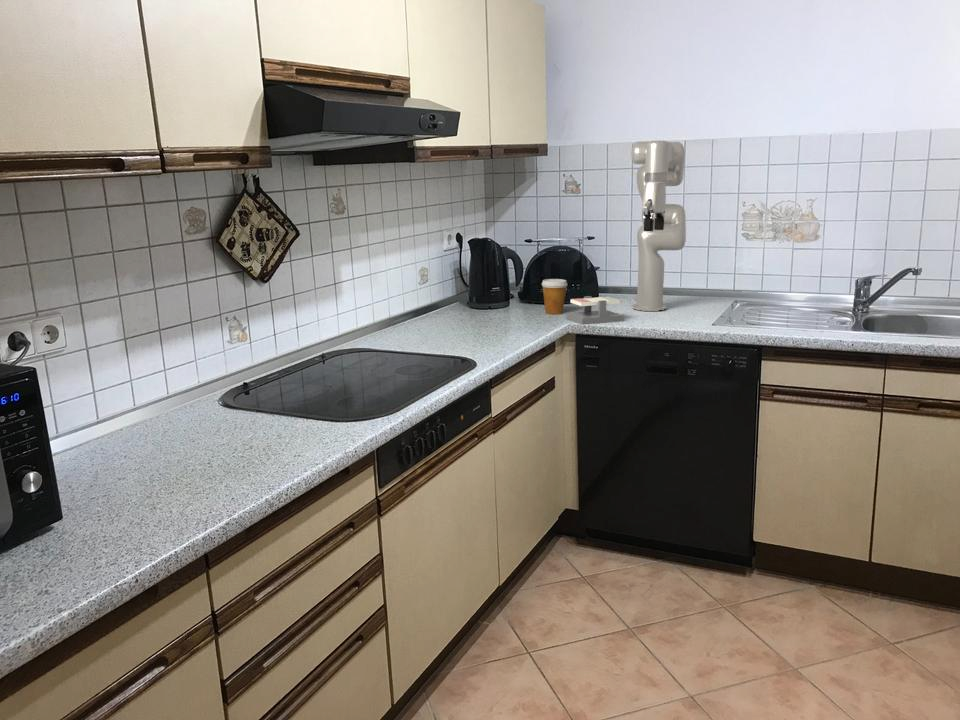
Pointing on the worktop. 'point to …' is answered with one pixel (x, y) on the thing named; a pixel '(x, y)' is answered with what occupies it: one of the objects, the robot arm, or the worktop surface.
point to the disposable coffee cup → (554, 295)
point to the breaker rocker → (594, 301)
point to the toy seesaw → (594, 314)
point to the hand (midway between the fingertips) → (653, 230)
